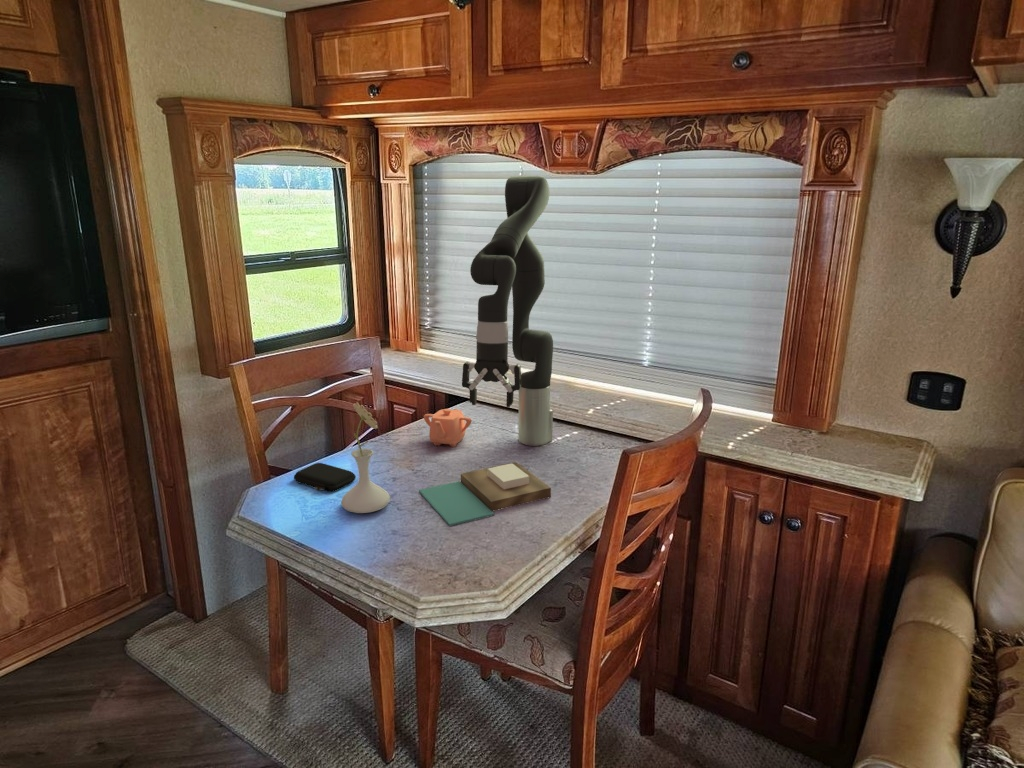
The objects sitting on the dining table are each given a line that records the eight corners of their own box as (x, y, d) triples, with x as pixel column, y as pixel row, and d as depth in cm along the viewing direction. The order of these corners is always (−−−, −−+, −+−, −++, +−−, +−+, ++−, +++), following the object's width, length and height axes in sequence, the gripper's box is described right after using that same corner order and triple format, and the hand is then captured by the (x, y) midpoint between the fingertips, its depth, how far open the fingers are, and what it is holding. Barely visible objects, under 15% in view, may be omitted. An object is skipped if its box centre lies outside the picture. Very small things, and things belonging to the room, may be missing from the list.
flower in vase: (393, 514, 158) (387, 411, 151) (342, 521, 155) (334, 416, 148) (386, 490, 170) (380, 395, 163) (339, 496, 167) (331, 399, 160)
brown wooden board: (516, 470, 181) (516, 461, 181) (550, 497, 166) (550, 487, 165) (460, 482, 174) (460, 473, 174) (491, 511, 159) (491, 501, 158)
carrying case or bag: (287, 484, 175) (329, 497, 167) (286, 473, 174) (327, 486, 166) (318, 470, 183) (359, 481, 176) (317, 459, 182) (358, 470, 175)
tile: (512, 470, 175) (512, 463, 175) (529, 483, 168) (529, 476, 167) (487, 475, 172) (487, 468, 172) (503, 489, 164) (503, 481, 164)
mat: (459, 482, 174) (459, 481, 174) (494, 515, 157) (494, 513, 157) (418, 491, 169) (418, 489, 169) (449, 526, 152) (449, 524, 152)
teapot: (421, 437, 206) (420, 405, 203) (458, 431, 210) (457, 400, 207) (436, 453, 193) (435, 419, 190) (475, 447, 198) (475, 414, 195)
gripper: (524, 338, 166) (522, 403, 169) (466, 336, 168) (466, 400, 171) (519, 343, 159) (517, 411, 162) (459, 340, 161) (459, 407, 164)
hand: (491, 405), depth 167 cm, fingers open, 8 cm apart
